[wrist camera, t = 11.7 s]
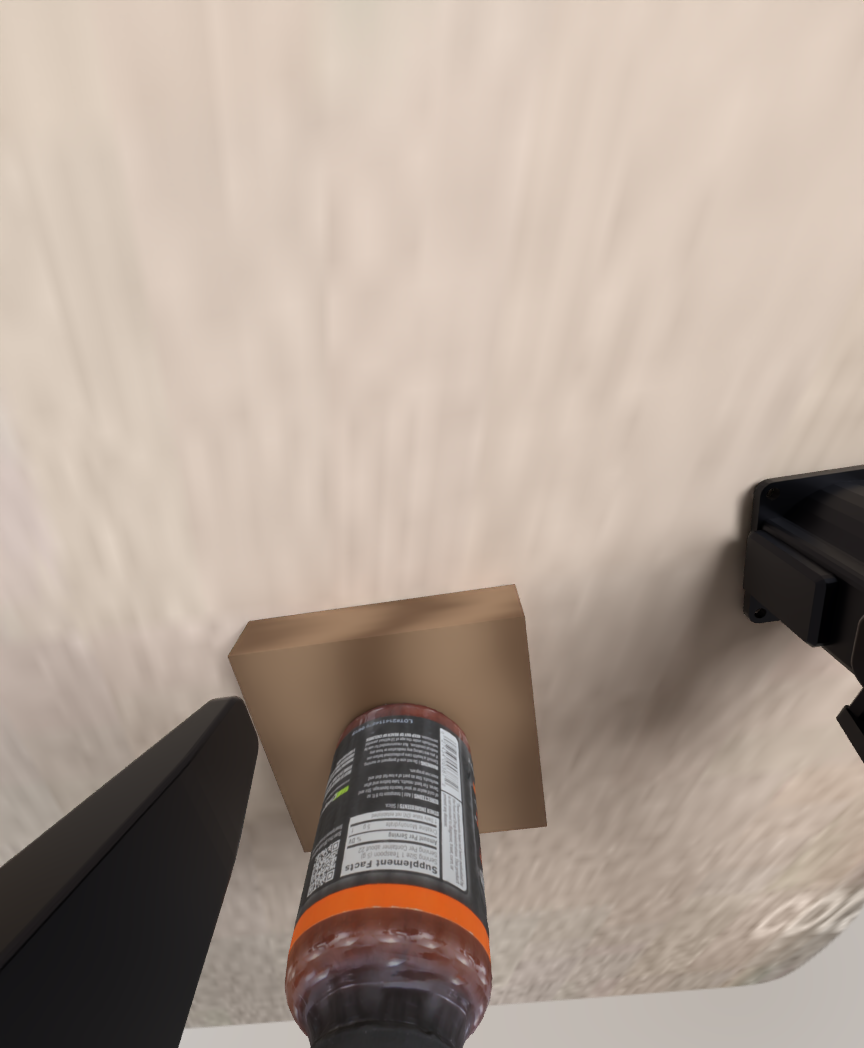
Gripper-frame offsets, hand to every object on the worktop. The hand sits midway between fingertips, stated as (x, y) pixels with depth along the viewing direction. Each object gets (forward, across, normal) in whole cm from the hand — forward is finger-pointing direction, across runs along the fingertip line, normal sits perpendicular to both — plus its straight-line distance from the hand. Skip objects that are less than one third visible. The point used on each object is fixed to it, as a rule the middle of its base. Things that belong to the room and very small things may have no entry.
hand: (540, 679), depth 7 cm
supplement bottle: (+11, +5, +12) cm, 17 cm away
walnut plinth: (+13, +5, +12) cm, 18 cm away
